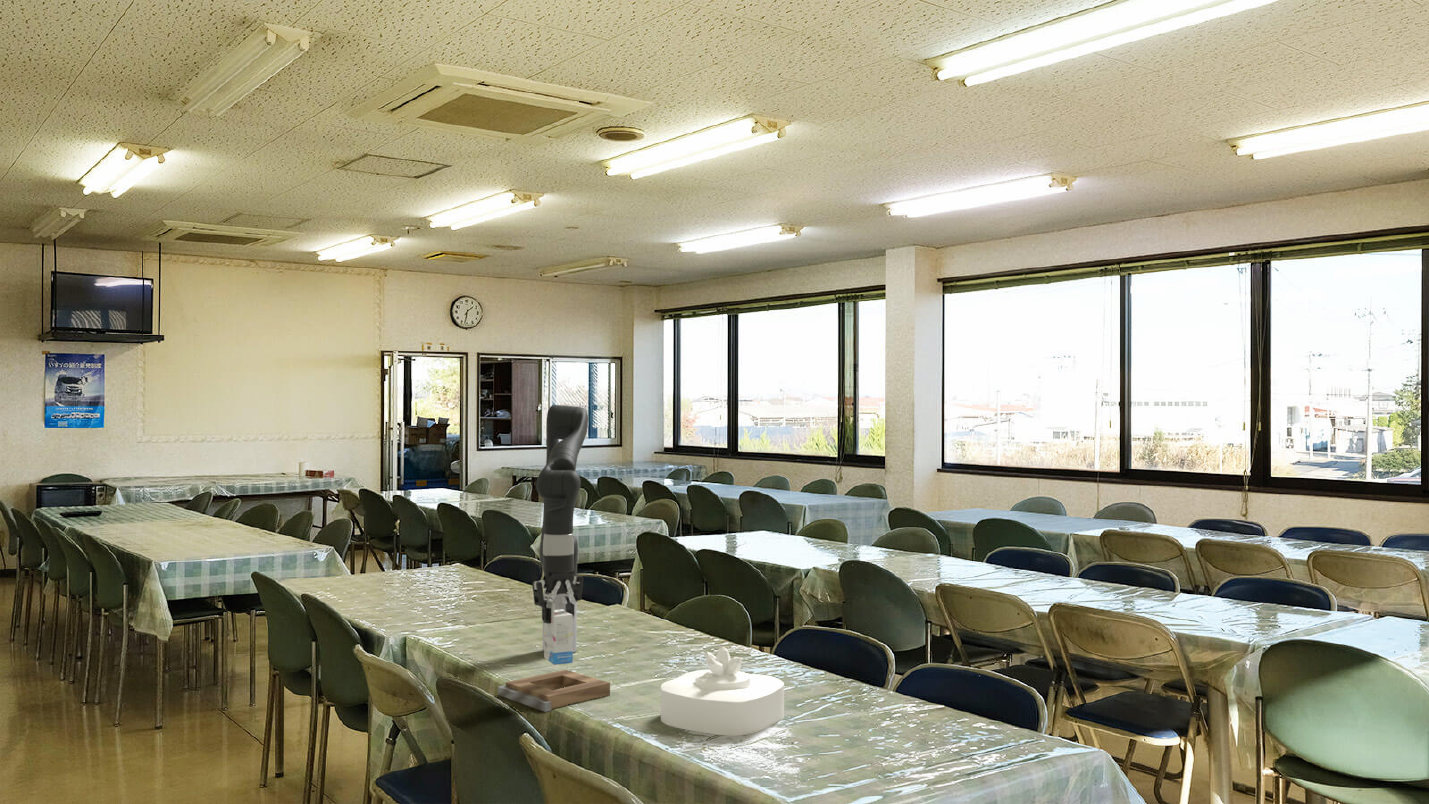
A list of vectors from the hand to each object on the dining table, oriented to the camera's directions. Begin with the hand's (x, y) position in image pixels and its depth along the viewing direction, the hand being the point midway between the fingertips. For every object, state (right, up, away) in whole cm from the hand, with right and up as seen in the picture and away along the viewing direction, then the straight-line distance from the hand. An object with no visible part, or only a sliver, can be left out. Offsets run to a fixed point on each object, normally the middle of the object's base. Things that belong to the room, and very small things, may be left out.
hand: (558, 621), depth 254 cm
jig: (0, -18, 0) cm, 18 cm away
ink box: (0, -10, 0) cm, 10 cm away
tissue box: (+40, -18, -18) cm, 47 cm away
